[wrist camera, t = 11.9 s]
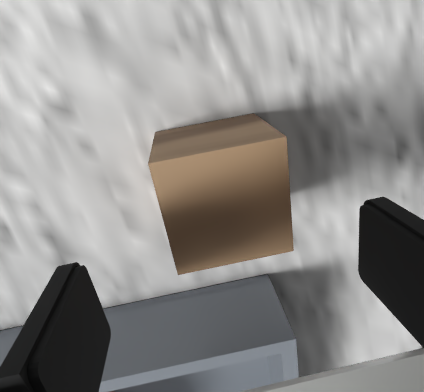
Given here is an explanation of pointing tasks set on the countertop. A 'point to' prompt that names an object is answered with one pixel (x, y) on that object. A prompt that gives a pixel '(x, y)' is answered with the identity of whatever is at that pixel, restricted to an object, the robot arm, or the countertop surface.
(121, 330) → the tote
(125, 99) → the countertop surface
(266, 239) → the walnut cube
